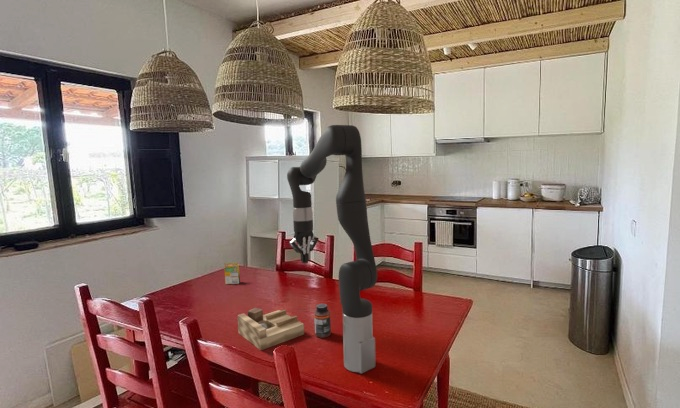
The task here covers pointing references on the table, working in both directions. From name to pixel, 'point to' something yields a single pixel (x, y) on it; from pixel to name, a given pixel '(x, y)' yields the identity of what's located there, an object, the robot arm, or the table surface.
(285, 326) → the wooden stepped tray
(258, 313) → the walnut cube
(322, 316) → the supplement bottle
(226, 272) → the crayon box
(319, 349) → the table surface
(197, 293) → the table surface
